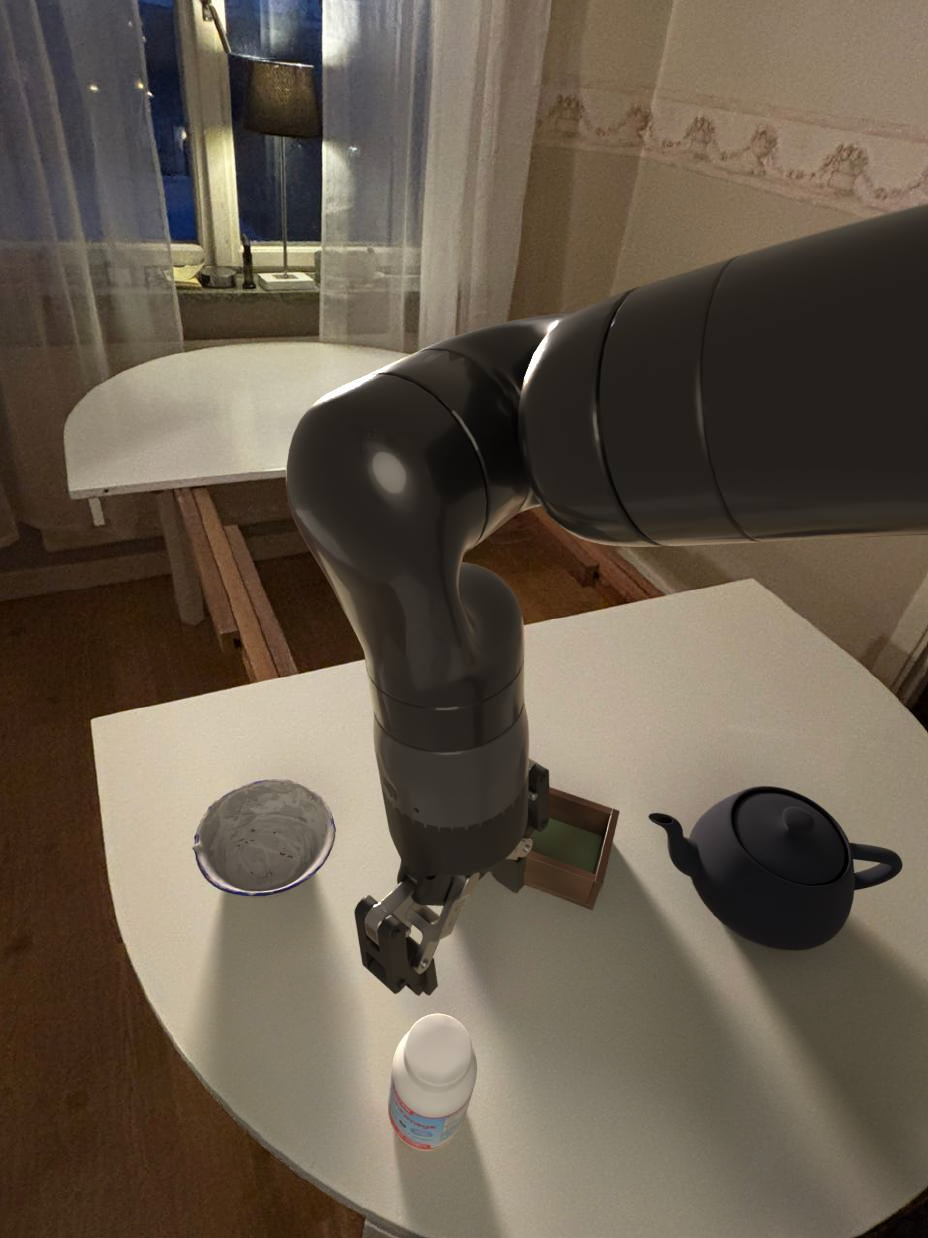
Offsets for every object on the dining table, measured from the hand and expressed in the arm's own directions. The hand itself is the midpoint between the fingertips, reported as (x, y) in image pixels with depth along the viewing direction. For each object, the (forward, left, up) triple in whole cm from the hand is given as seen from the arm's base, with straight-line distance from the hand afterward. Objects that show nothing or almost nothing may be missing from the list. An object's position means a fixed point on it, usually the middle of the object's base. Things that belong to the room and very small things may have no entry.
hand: (467, 929), depth 47 cm
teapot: (-23, -27, -21) cm, 41 cm away
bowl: (+22, -11, -21) cm, 33 cm away
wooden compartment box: (0, -23, -21) cm, 31 cm away
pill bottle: (0, +3, -21) cm, 21 cm away
